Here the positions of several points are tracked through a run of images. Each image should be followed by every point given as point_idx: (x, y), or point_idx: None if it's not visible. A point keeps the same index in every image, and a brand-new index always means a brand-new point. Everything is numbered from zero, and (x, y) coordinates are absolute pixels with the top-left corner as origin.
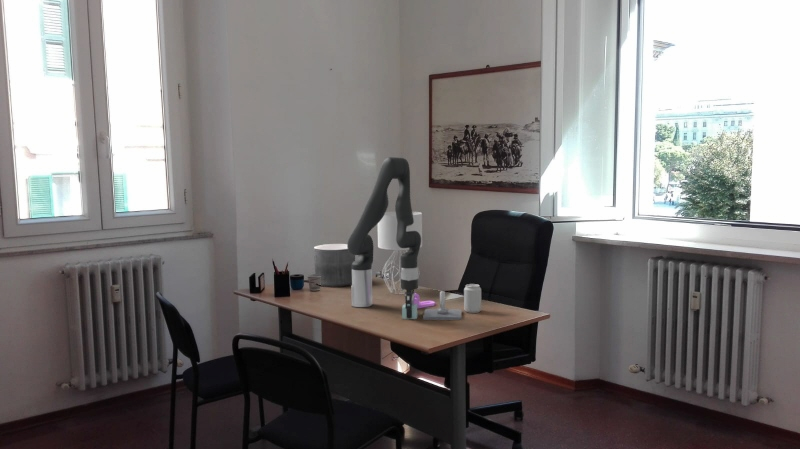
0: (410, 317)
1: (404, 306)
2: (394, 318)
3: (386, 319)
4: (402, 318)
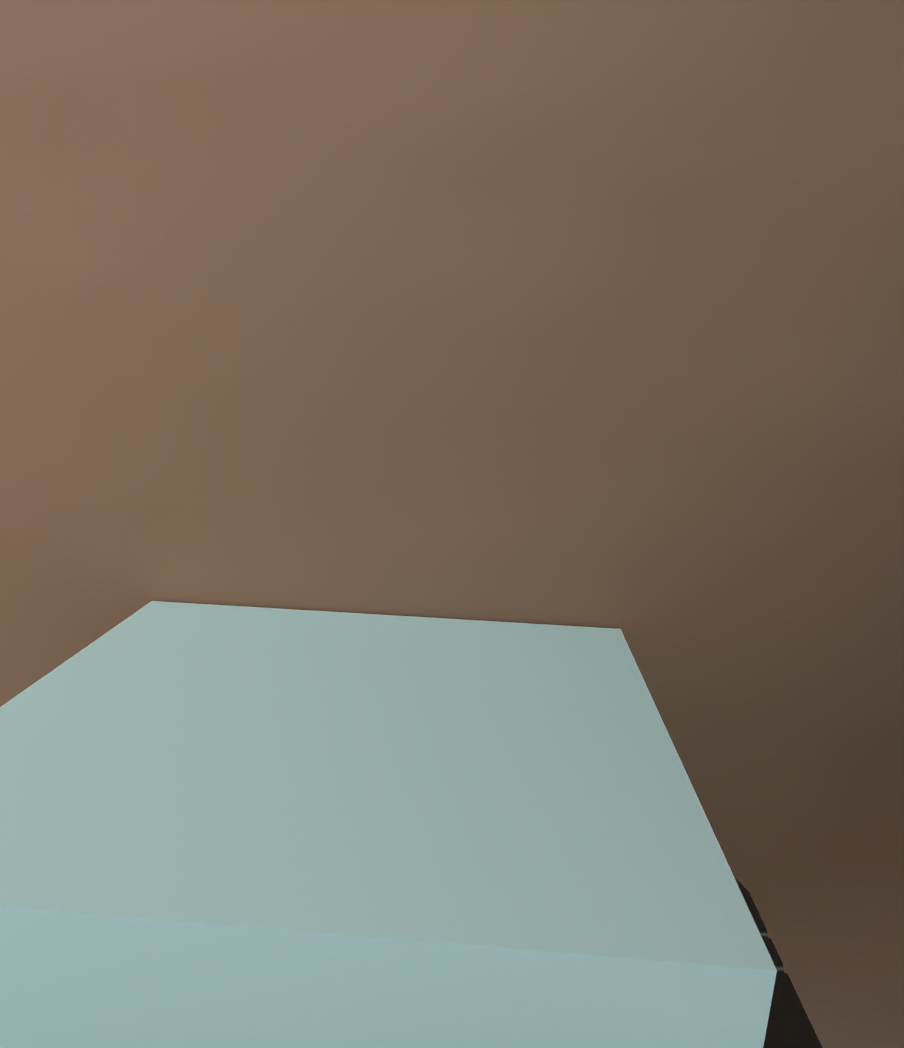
0: None
1: (28, 1024)
2: (190, 327)
3: (13, 12)
4: (146, 611)
